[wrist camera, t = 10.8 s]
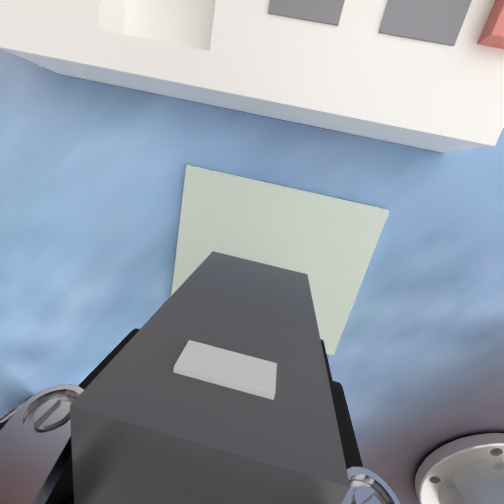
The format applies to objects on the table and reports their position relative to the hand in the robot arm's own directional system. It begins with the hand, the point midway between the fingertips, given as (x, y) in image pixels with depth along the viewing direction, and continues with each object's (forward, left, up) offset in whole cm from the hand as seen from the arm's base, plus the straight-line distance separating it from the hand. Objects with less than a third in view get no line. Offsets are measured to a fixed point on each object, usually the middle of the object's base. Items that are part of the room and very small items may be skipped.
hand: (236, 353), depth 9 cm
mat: (0, 0, -10) cm, 10 cm away
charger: (0, 0, -3) cm, 3 cm away
